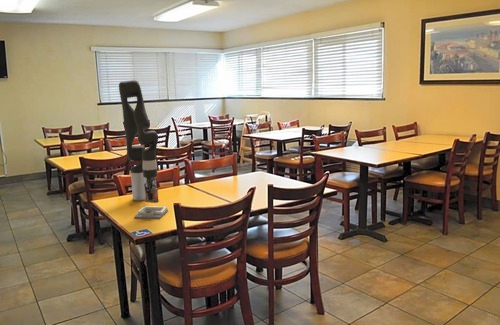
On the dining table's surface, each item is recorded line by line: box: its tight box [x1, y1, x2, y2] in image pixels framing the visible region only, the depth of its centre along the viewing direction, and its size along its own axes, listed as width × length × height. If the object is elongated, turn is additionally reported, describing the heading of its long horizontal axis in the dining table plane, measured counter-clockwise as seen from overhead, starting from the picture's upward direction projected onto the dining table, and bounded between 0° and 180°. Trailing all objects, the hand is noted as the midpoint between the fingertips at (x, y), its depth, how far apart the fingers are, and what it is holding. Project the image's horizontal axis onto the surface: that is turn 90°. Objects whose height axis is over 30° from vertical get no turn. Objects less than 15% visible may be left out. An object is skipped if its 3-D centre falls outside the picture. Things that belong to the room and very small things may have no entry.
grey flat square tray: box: [134, 205, 169, 220], centre depth 231 cm, size 14×14×3 cm
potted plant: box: [144, 184, 160, 204], centre depth 232 cm, size 8×3×10 cm, turn 69°
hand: (151, 198), depth 232 cm, fingers closed on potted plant, 3 cm apart
